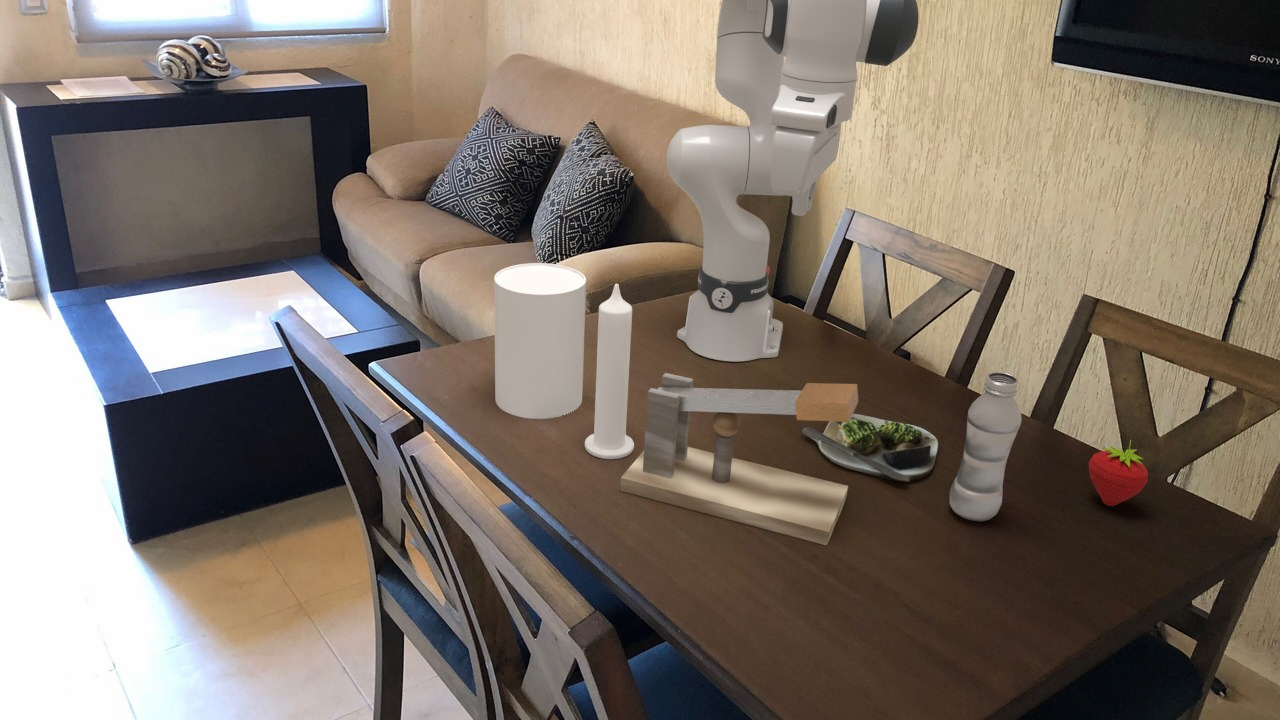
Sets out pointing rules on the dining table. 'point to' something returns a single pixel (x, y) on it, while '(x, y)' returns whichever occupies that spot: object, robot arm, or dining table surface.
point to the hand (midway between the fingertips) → (800, 212)
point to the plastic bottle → (986, 449)
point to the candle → (612, 380)
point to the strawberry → (1117, 475)
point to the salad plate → (878, 447)
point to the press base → (726, 475)
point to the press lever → (774, 401)
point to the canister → (539, 339)
